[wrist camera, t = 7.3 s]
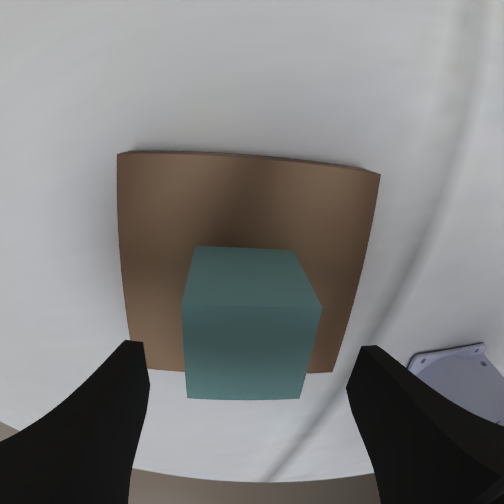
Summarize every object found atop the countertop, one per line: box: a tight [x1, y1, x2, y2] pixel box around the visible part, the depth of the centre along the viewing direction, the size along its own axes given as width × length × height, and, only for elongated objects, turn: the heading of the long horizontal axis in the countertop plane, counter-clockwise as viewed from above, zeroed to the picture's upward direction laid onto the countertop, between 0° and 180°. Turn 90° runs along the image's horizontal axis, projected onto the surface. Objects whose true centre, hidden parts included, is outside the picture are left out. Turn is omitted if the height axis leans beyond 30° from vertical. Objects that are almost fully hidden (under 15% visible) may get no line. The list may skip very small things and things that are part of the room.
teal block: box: [181, 246, 322, 400], centre depth 13 cm, size 4×4×5 cm
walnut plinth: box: [117, 151, 381, 373], centre depth 16 cm, size 12×12×2 cm
